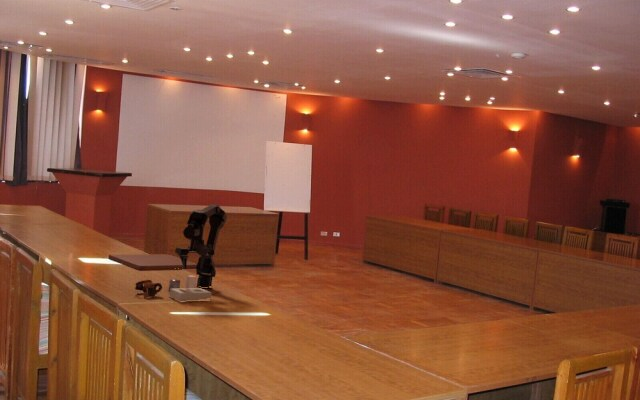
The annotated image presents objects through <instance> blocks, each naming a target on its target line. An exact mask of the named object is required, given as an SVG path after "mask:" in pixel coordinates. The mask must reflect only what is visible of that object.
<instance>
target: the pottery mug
mask: <svg viewBox="0 0 640 400" xmlns="http://www.w3.org/2000/svg"><path fill="white" fill-rule="evenodd" d="M157 287H158V289H157ZM162 289H163V285H162V284H161V283H160V282H155V283H153V281H152V280H151V279H145V280H141V281H137V282H136V283H135V287H134V290H135V291H142V292H143V297H146V298H155V297H156V295H157V294H158V293H160V292H161V291H162ZM154 296H155V297H154Z"/></svg>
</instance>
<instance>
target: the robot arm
mask: <svg viewBox="0 0 640 400" xmlns="http://www.w3.org/2000/svg"><path fill="white" fill-rule="evenodd" d="M227 218H228V217H227V214H226V211H225V210H224V209H222V208H221V206H220V205H218V204H209V205H208V206H206V207H204V208H202V209H193V210H192V211H191V213H190V215H189V218H188V220H187V223H186V225H187V226H185V228H184V229H183V231H182V232H183V233H182V234H183V236H184V237H185V239H187V240H189V245H188V246H187V248H185V247H183V246H182V247H181V246H180V247H178V246H177V247H176V248H175V249H174V252H175V254H177V256H179V258H180V259H181V261H182V264H183V268H184V269H183V270H187V269H186V264H187V261H188V258H189V254H197V255H199V258H198V261H197V262H196V264H197V265H196V269H195V270H196V272H195V273H196V274H195V275H197V276H198V278H197V279H196V285H197V286H201V287H209V286H211V287H212V284H213V278H215V277H216V275H217V271H216V268H215V260H214V255H215V252H216V251H215V250H216V247H217V243H218V239H219V233H220V230H221V229H222V228H224V226H225V223H226V221H227V220H228V219H227ZM207 222H208V223H209V226H210V228H209V232H208V236H207V240H206V244H205V239H204V231H205V230H204V229H205V227H206V223H207ZM197 286H196V287H197Z"/></svg>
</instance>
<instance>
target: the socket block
mask: <svg viewBox="0 0 640 400" xmlns="http://www.w3.org/2000/svg"><path fill="white" fill-rule="evenodd" d="M212 293H213V292H212V291H208V290H207V289H202V288H199V287H197V288H196V287H195V288H186V287H184V288H183V287H180V288H174V289H170V293H169V295H168V297H169V296H170V297H173V298H175V299H177V300H179V301H186V300H199V299H207V298H211V299H212ZM170 297H169V298H170Z"/></svg>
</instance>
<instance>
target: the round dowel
mask: <svg viewBox="0 0 640 400" xmlns="http://www.w3.org/2000/svg"><path fill="white" fill-rule="evenodd" d="M180 286H181V279H178V278H171V279H169V282H168V291H169V292H170V289H174V288H181V287H180ZM169 292H168V293H169Z"/></svg>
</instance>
